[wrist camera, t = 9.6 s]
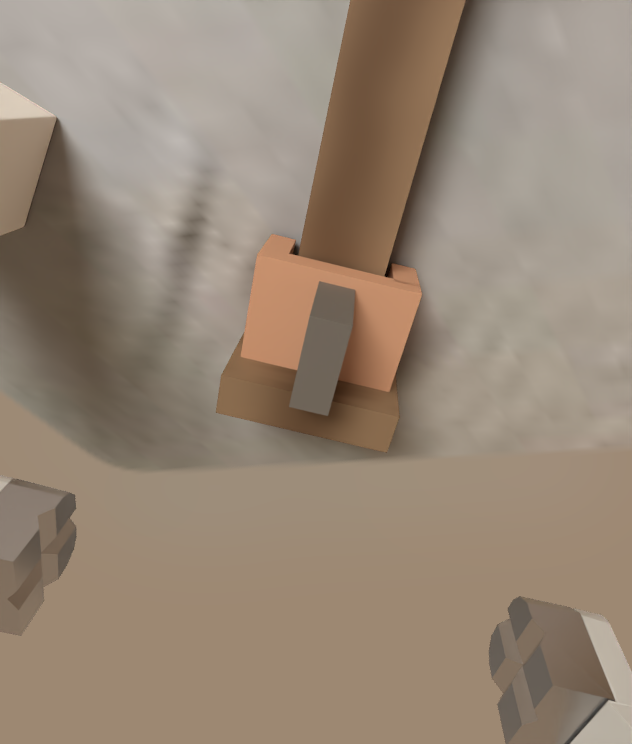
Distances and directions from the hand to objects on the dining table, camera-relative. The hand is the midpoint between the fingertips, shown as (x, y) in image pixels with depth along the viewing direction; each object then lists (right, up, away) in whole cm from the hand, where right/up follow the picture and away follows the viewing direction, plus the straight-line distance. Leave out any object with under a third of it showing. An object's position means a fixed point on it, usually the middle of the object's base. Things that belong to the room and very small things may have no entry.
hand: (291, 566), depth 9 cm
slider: (+1, +7, +17) cm, 19 cm away
